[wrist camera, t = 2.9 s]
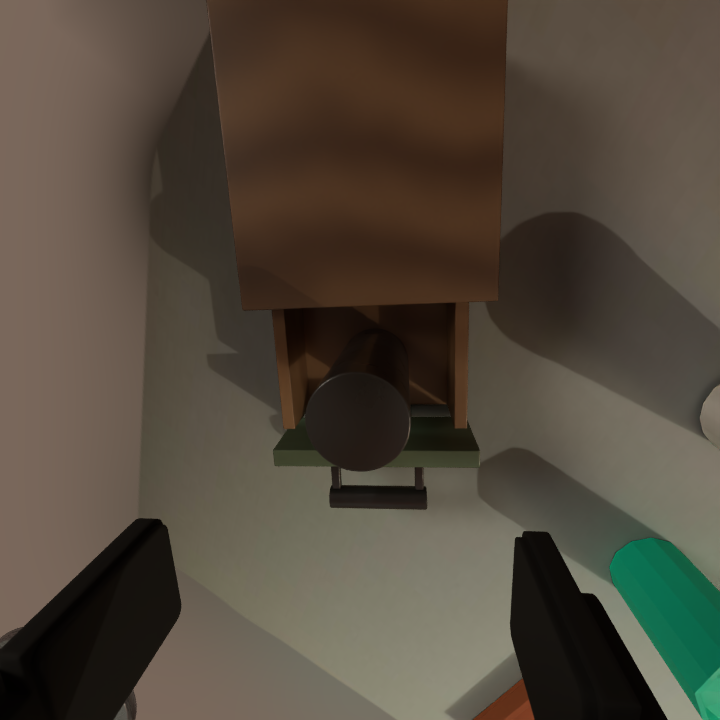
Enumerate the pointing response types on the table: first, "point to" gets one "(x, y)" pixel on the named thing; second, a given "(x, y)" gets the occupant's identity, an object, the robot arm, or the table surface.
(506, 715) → the tray
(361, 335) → the cylinder
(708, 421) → the cup
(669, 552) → the candle
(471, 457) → the drawer
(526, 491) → the table surface
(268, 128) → the cabinet
